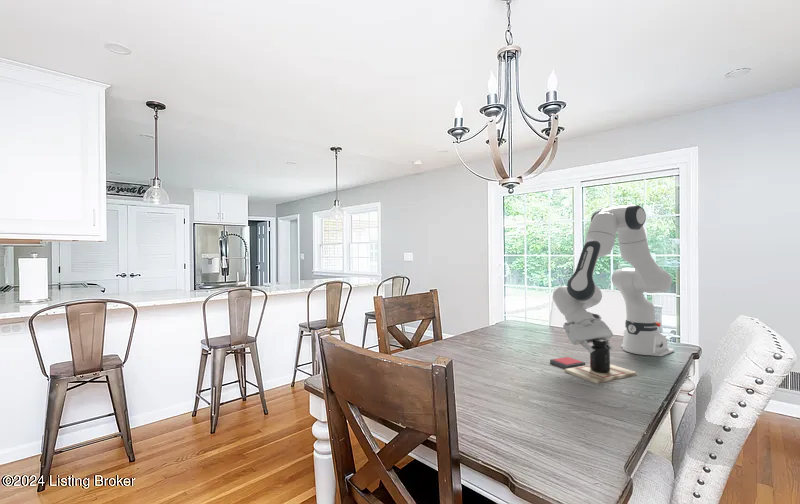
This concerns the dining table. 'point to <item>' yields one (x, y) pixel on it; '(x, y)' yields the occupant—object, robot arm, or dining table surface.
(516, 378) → the dining table surface
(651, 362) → the dining table surface
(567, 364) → the ink pad
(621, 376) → the marked board
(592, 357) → the supplement bottle
